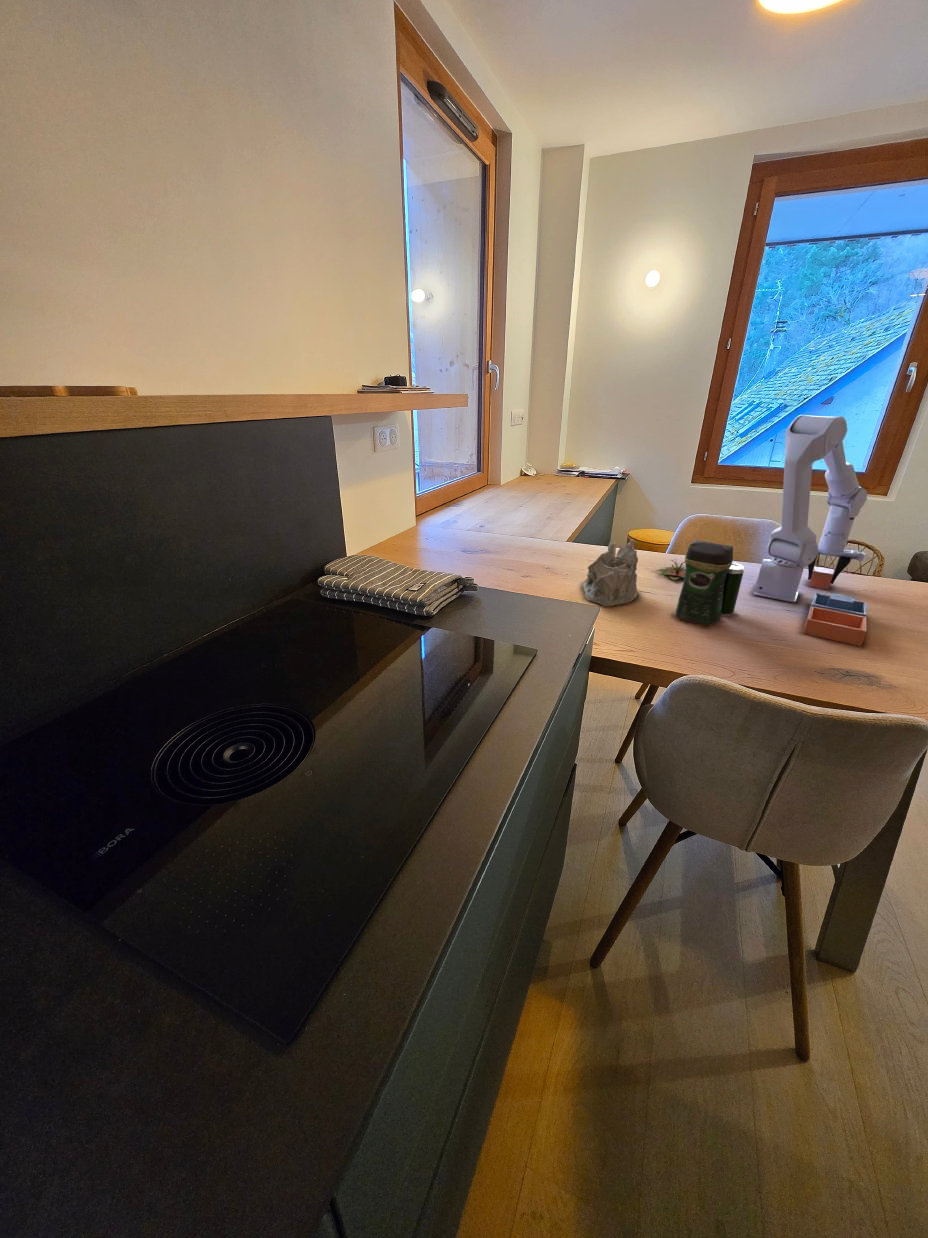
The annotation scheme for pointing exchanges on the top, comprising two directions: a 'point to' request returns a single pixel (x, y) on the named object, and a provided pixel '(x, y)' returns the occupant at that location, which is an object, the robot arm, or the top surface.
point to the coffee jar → (704, 582)
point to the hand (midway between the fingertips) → (820, 580)
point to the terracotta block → (821, 578)
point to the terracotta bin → (836, 625)
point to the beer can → (731, 589)
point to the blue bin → (822, 600)
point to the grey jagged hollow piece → (613, 576)
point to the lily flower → (674, 571)
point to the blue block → (840, 601)
